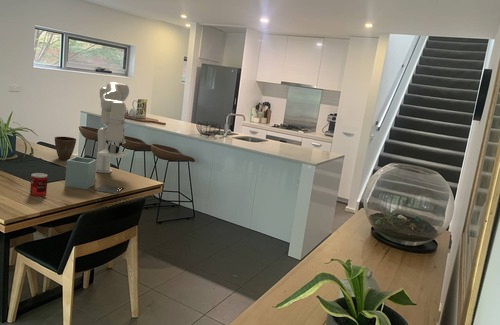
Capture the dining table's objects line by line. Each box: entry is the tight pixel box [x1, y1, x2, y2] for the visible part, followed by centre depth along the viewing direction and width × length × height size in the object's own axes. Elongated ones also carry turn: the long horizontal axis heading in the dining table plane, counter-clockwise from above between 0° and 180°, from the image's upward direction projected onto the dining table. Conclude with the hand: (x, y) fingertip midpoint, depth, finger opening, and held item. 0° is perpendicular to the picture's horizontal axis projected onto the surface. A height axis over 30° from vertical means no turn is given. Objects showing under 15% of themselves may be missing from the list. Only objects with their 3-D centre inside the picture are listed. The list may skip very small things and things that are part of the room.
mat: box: [93, 183, 123, 195], centre depth 238 cm, size 14×14×1 cm
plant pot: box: [54, 136, 77, 161], centre depth 290 cm, size 15×15×16 cm
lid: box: [98, 143, 129, 159], centre depth 233 cm, size 14×14×6 cm
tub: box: [64, 156, 97, 190], centre depth 235 cm, size 13×13×16 cm
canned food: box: [29, 172, 49, 197], centre depth 208 cm, size 8×8×11 cm
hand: (113, 152), depth 233 cm, fingers closed on lid, 3 cm apart
